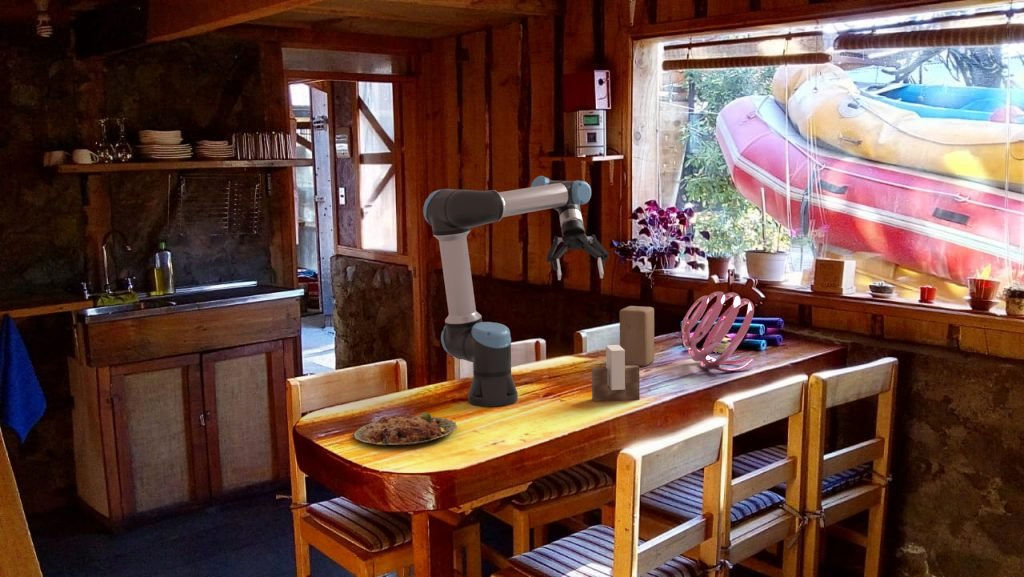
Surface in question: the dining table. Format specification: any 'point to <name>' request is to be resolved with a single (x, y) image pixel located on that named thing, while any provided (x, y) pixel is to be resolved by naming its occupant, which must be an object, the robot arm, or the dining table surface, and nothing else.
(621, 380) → the cream plate
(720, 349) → the stacked layers on plate
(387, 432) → the rice dish
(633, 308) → the wooden block
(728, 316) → the pink openwork looped piece
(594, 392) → the slotted walnut plate
